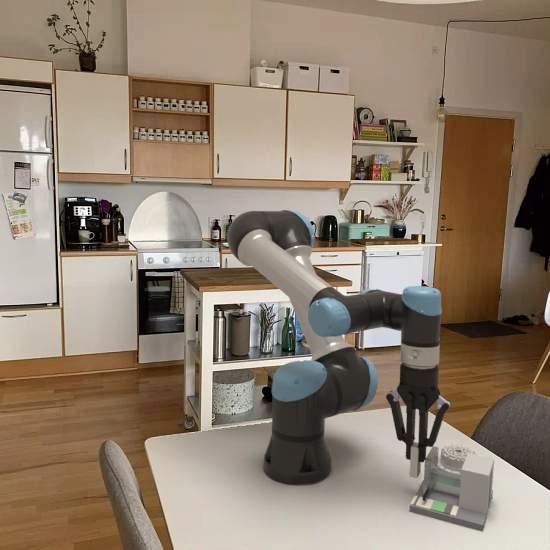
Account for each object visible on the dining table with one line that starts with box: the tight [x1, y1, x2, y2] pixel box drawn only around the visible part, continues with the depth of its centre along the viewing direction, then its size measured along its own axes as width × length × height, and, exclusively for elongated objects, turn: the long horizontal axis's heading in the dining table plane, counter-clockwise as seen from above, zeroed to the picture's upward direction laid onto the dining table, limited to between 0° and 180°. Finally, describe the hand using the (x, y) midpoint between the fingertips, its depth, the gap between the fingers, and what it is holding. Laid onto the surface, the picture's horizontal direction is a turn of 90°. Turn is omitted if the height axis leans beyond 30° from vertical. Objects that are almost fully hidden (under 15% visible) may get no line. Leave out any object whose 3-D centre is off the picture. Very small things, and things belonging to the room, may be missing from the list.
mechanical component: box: [437, 444, 477, 475], centre depth 126 cm, size 10×4×10 cm
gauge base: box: [409, 453, 495, 532], centre depth 111 cm, size 14×14×9 cm
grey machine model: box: [423, 445, 461, 501], centre depth 111 cm, size 11×10×7 cm
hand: (415, 475), depth 116 cm, fingers closed
